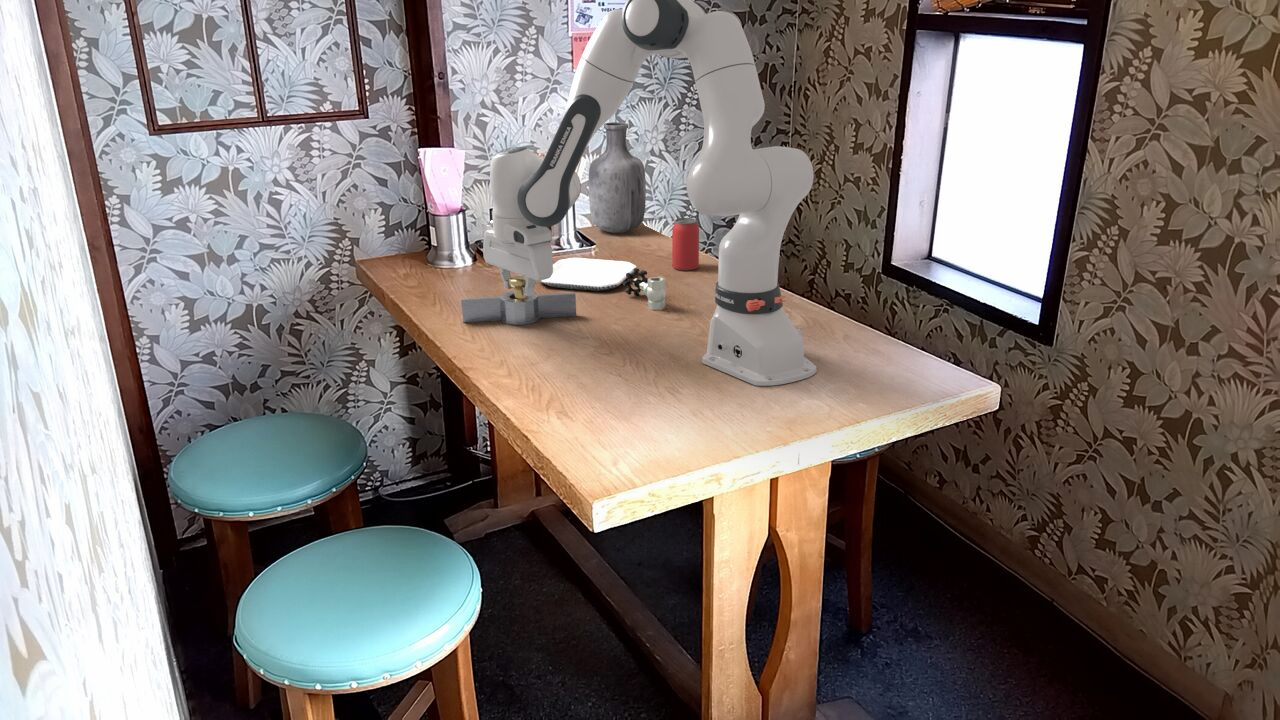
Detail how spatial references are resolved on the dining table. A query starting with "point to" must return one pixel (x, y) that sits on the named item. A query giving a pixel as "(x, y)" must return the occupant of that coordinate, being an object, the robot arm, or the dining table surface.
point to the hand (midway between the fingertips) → (518, 291)
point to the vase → (617, 184)
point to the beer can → (685, 244)
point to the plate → (589, 274)
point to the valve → (648, 288)
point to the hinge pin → (518, 286)
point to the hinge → (518, 308)
